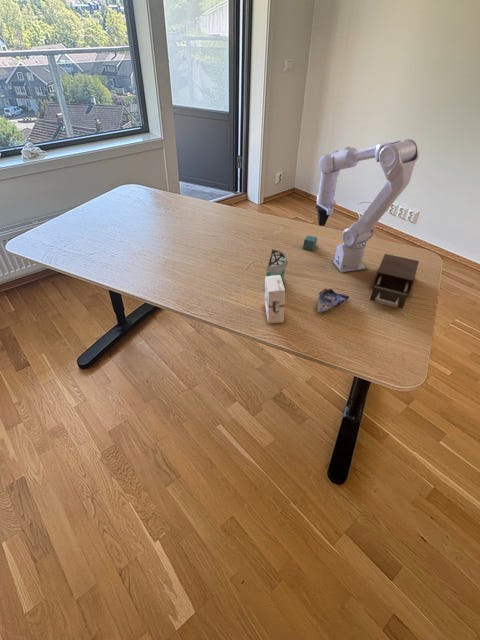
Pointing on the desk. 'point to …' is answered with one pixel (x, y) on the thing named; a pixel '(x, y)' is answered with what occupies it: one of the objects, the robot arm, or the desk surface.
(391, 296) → the drawer
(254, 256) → the desk surface
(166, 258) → the desk surface
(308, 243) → the block
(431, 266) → the desk surface
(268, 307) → the ink box
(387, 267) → the cabinet
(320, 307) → the snack package
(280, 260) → the food container
